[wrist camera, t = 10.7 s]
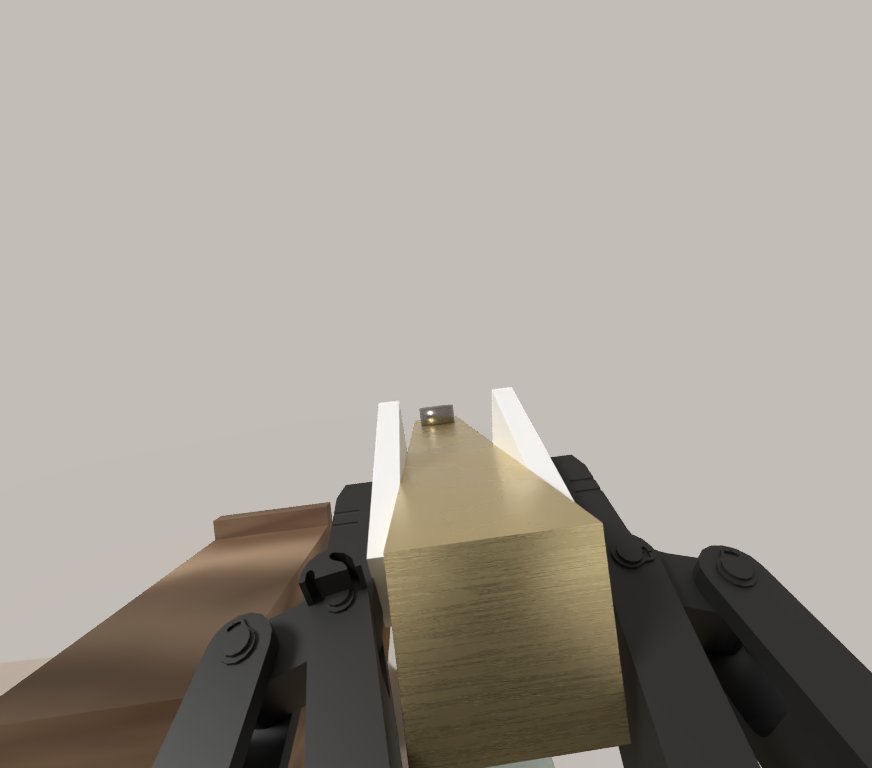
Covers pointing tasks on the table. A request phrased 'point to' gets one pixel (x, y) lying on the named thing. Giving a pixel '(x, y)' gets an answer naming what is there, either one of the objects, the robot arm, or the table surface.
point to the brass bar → (497, 608)
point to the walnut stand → (159, 648)
